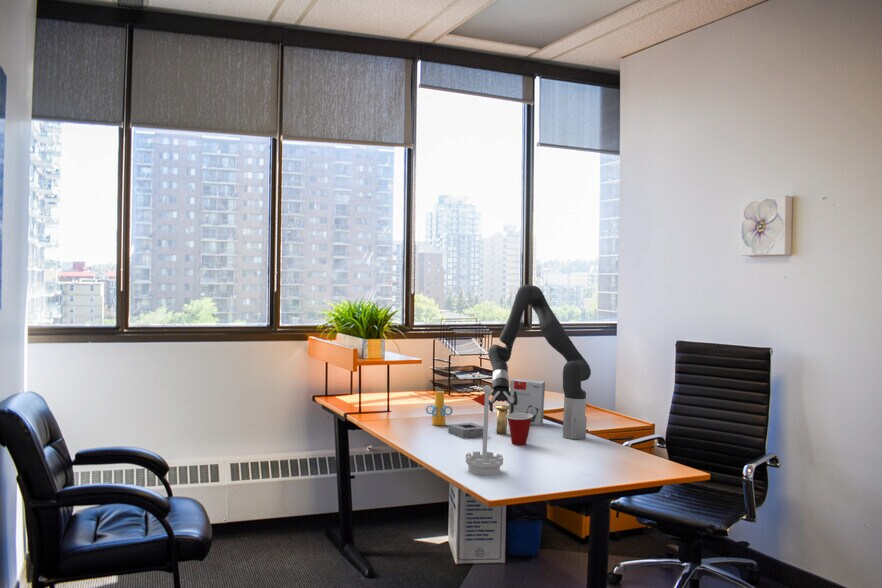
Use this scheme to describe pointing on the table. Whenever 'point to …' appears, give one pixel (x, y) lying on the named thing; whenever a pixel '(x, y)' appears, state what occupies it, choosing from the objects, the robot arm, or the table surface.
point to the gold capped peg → (502, 419)
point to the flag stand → (484, 445)
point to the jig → (466, 430)
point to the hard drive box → (529, 398)
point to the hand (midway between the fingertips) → (501, 411)
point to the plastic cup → (519, 427)
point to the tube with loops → (439, 409)
